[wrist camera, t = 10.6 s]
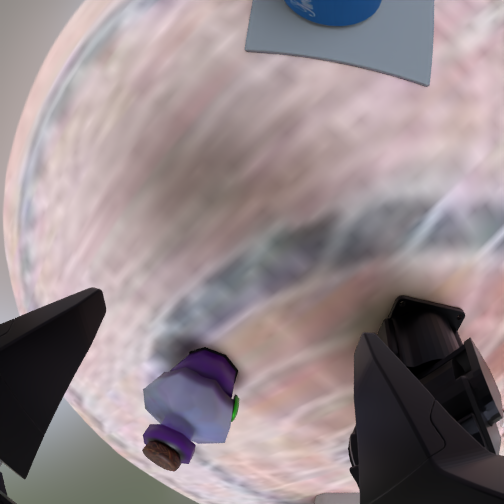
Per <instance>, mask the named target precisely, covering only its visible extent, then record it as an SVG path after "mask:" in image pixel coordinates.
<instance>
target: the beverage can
mask: <svg viewBox="0 0 504 504" xmlns="http://www.w3.org/2000/svg"><path fill="white" fill-rule="evenodd" d="M284 1H285V2H286V4H287V5H288V6H289V7H290V8H291V9H292V10H293V11H294V12H295V13H297V14H298V15H300V16H301V17H303V18H305V19H307V20H309V21H312V22H314V23H318V24H322V25H327V26H349V25H353V24H357V23H360V22H362V21H364V20H366V19H368V18H369V17H371V16H372V15H373V14H374V13H375V12H376V11H377V9H378V8H379V6H380V4H381V1H382V0H284Z"/></svg>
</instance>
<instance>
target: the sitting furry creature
mask: <svg viewBox="0 0 504 504" xmlns="http://www.w3.org/2000/svg"><path fill="white" fill-rule="evenodd" d="M500 425H501V427H504V411H503V419H501V420H500ZM503 438H504V437H503Z"/></svg>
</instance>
